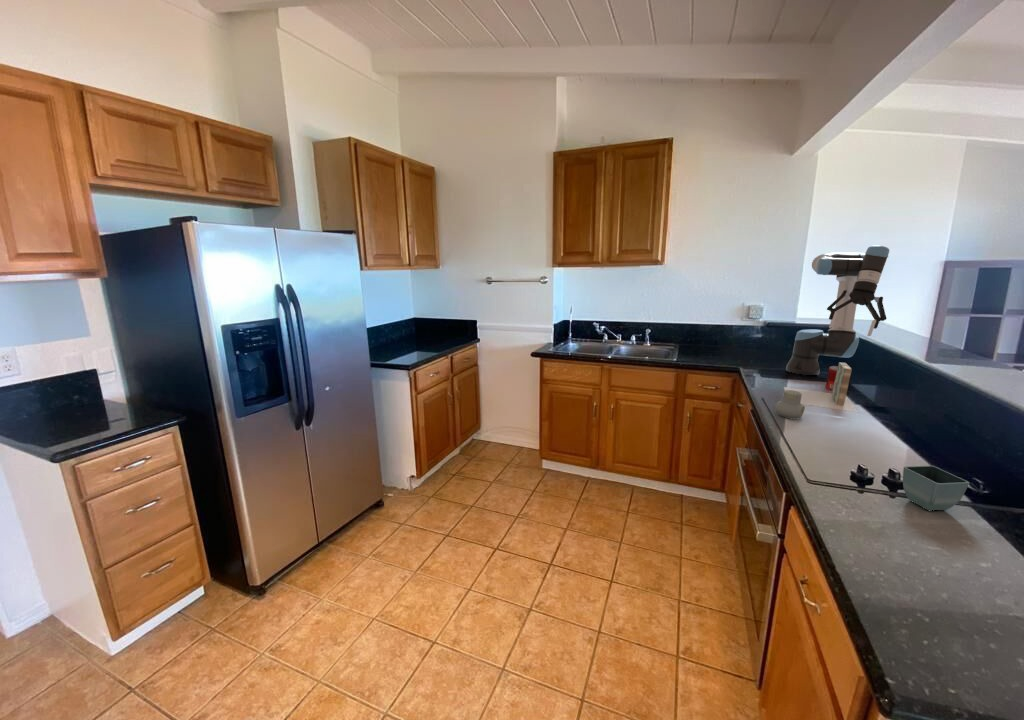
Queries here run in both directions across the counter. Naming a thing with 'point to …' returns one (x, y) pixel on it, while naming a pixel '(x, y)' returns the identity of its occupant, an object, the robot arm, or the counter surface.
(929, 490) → the flower pot
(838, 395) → the tile
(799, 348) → the robot arm
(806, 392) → the mat
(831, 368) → the canned food
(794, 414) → the air freshener
